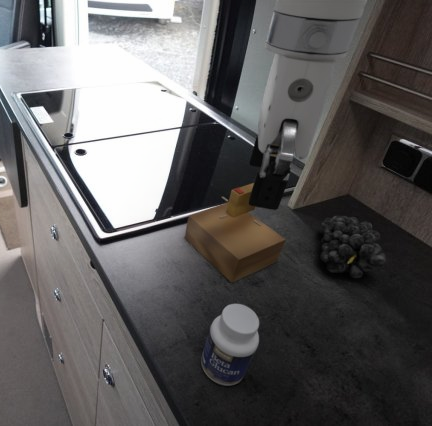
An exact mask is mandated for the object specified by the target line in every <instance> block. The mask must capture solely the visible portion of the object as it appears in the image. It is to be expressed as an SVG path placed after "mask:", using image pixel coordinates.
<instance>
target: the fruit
mask: <svg viewBox="0 0 432 426" xmlns="http://www.w3.org/2000/svg"><path fill="white" fill-rule="evenodd" d="M320 226H321V228H322V229H323V237H322V238H321V239H320V244H321V245H320V246H321V247H320V249H321V252H320V254H319V258H320V260H321V261H322V262H323V263H325V264H326V269H327V271H328V272H330V273H332V274H334V273H335V274H339V273H340V274H342V275H343V274H346V273H348V274H349V276H350V277H351V278H354V279H360V278H362V277H363V276H364V272H366V273H368V272H372V271H373V270H374V269H375V268H376V267H378V268H382V267H383V266H385V265H386V263H387V257H386V255H385V253H383V252H382V251H383V249H382V247H381V246H380V245H379V243H377V242H378V241H379V240H380V236H381V235H380V232H379V231H377V230H373V225H372V223H371V222H369V221H367V220H364V221H361V222H359V219H358V218H357V217H356V216H349V217H348V216H346V215H334V216H333V217H326V218H324V219H323V220H322V222H321V224H320Z"/></svg>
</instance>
